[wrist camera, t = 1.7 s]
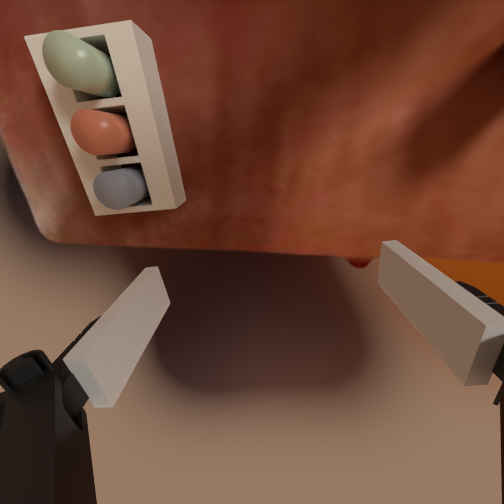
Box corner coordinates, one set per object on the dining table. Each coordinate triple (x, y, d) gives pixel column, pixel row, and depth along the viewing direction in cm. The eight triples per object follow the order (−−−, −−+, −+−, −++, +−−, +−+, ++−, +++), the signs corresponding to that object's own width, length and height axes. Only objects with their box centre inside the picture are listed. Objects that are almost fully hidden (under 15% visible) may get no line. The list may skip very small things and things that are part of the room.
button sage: (77, 54, 28) (33, 33, 22) (114, 49, 27) (78, 26, 22) (92, 100, 30) (55, 91, 24) (127, 95, 29) (97, 85, 24)
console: (60, 52, 30) (23, 36, 25) (151, 38, 29) (130, 20, 24) (114, 206, 38) (95, 215, 34) (186, 200, 37) (176, 208, 33)
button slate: (115, 168, 33) (87, 173, 28) (146, 165, 33) (124, 169, 27) (126, 200, 35) (101, 211, 30) (155, 197, 35) (136, 208, 29)
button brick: (98, 116, 30) (63, 111, 25) (132, 112, 30) (103, 106, 25) (110, 154, 32) (80, 157, 27) (142, 151, 32) (118, 153, 27)
